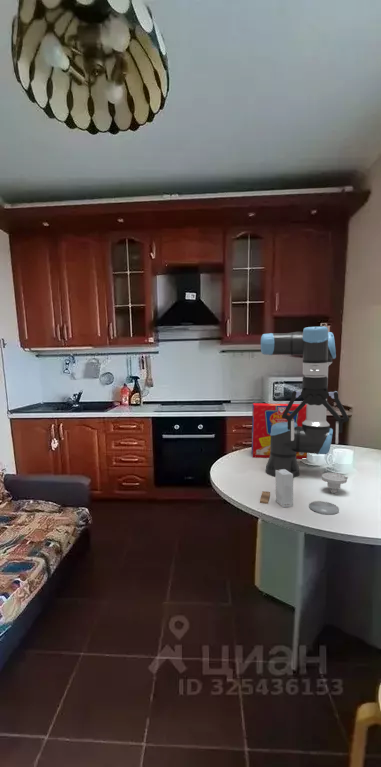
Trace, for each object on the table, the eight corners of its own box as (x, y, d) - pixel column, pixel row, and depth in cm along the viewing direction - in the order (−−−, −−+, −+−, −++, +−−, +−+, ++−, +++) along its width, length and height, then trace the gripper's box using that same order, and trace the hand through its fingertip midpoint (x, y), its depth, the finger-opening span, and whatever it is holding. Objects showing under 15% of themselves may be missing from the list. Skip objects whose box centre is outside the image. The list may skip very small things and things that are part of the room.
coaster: (308, 501, 138) (308, 499, 138) (337, 504, 135) (337, 503, 135) (309, 512, 128) (309, 510, 128) (340, 516, 125) (340, 514, 125)
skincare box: (293, 506, 133) (294, 473, 132) (282, 507, 132) (283, 474, 131) (285, 499, 139) (286, 468, 138) (274, 501, 138) (275, 469, 137)
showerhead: (344, 480, 140) (318, 474, 146) (343, 498, 141) (317, 492, 147) (351, 474, 147) (326, 468, 154) (350, 491, 148) (325, 485, 154)
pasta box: (252, 457, 195) (253, 405, 192) (251, 453, 203) (252, 403, 200) (306, 459, 192) (308, 406, 190) (303, 455, 200) (305, 404, 198)
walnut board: (262, 493, 146) (262, 491, 146) (270, 493, 145) (270, 491, 145) (259, 502, 136) (259, 500, 136) (267, 503, 135) (268, 501, 135)
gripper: (273, 376, 118) (273, 441, 120) (358, 377, 108) (357, 447, 111) (276, 374, 124) (276, 435, 127) (357, 374, 115) (355, 440, 118)
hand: (314, 441), depth 119 cm, fingers open, 13 cm apart
